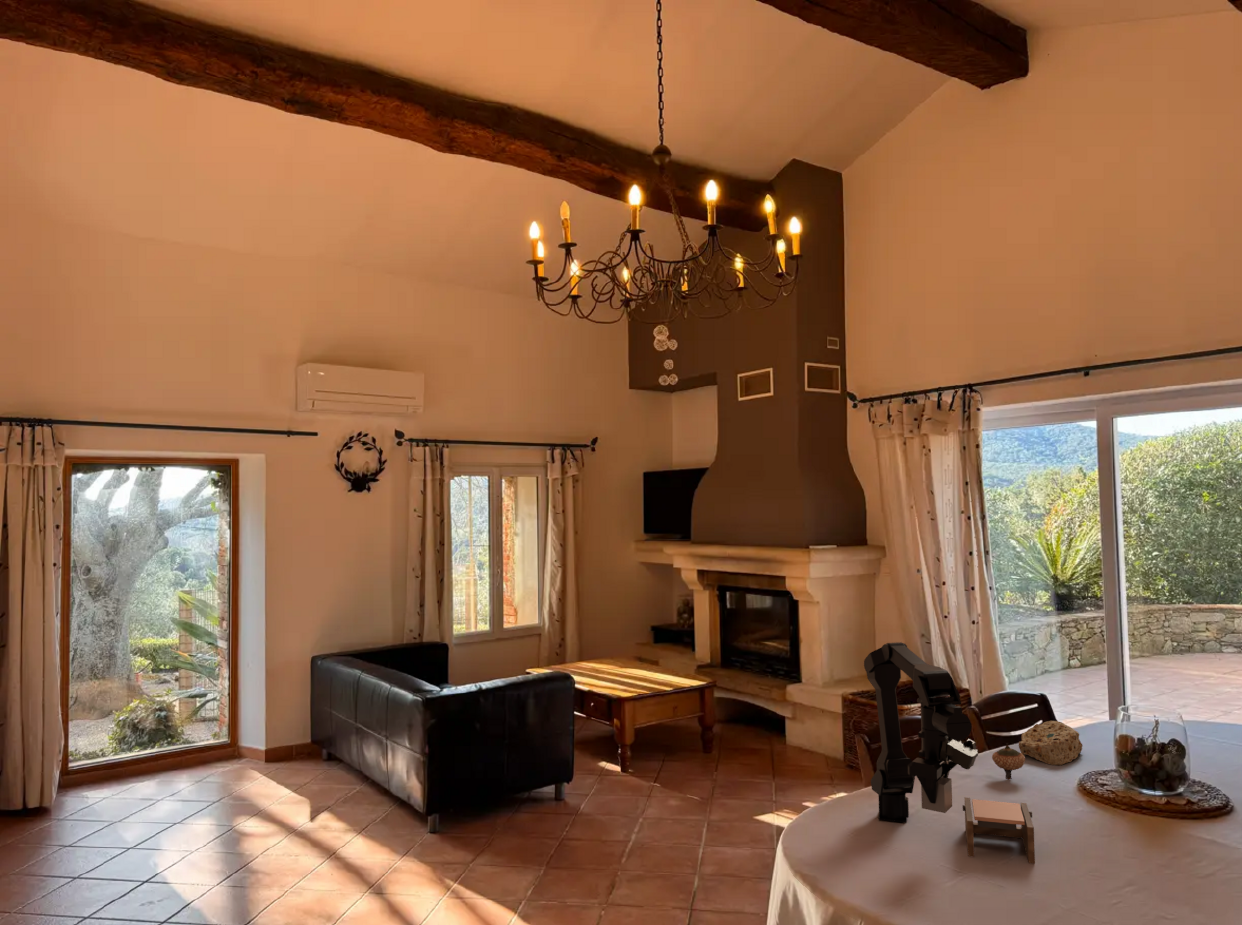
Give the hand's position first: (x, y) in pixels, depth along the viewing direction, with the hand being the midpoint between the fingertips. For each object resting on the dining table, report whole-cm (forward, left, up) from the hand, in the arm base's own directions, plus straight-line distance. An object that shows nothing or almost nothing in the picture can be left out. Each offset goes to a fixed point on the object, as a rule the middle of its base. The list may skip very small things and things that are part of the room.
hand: (936, 799), depth 190 cm
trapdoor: (+13, +8, -9) cm, 18 cm away
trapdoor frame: (+13, +8, -12) cm, 19 cm away
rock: (+32, +84, -12) cm, 91 cm away
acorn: (+19, +56, -12) cm, 61 cm away
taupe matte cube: (0, 0, -2) cm, 2 cm away
